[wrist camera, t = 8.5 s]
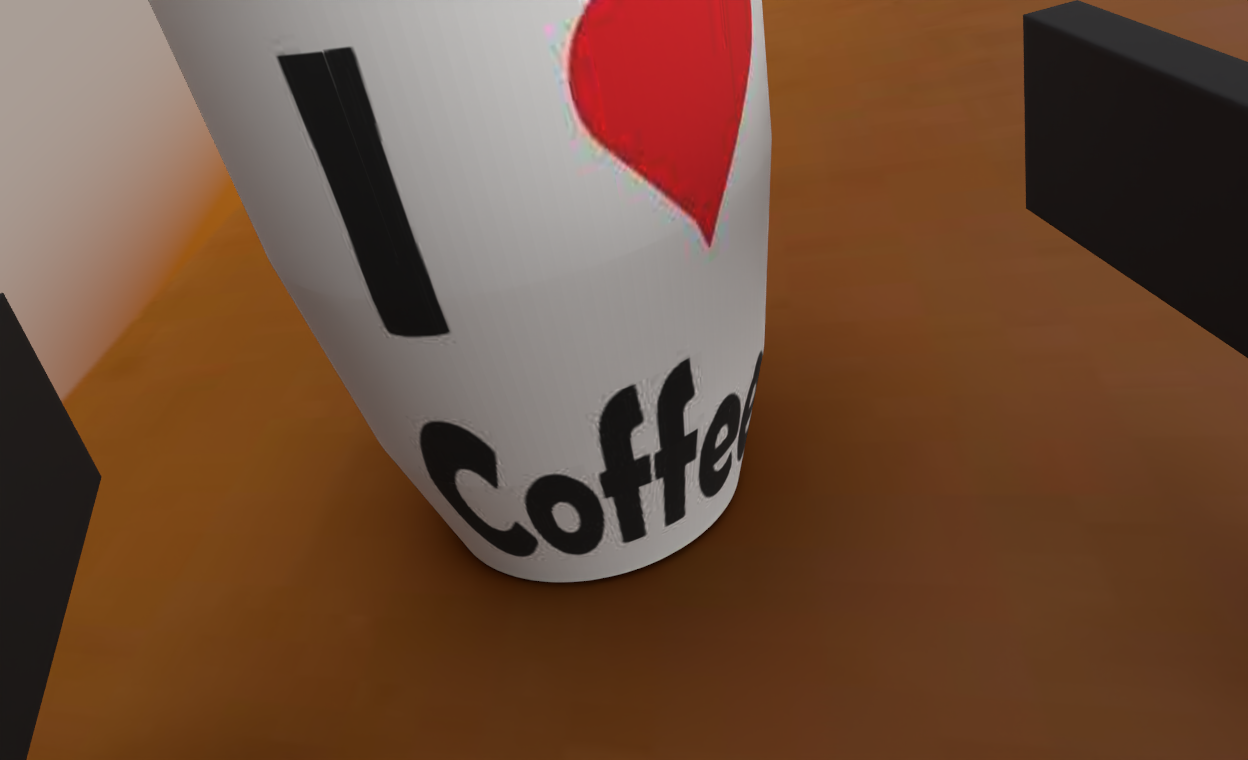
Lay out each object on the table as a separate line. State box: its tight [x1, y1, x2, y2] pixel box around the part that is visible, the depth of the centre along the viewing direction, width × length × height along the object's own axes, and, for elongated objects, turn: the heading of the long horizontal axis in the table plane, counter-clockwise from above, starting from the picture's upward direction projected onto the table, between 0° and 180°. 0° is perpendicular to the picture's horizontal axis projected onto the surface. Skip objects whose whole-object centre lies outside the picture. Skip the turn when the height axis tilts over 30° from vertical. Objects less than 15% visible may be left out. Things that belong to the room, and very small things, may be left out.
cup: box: [148, 0, 771, 582], centre depth 18 cm, size 8×8×10 cm
